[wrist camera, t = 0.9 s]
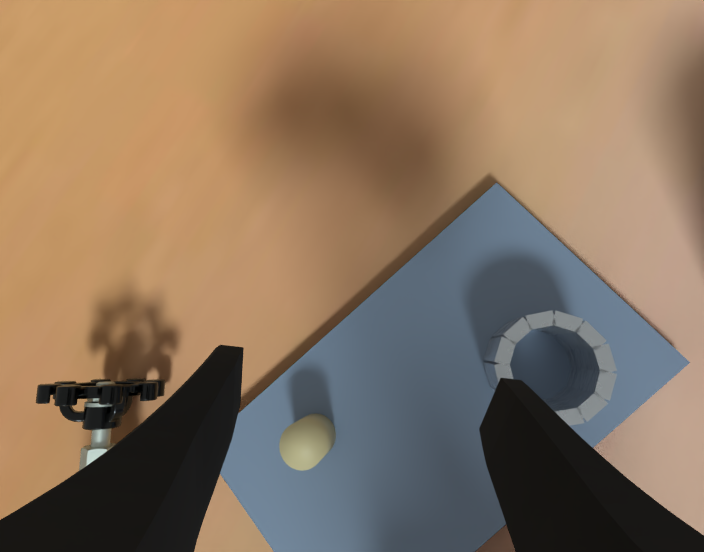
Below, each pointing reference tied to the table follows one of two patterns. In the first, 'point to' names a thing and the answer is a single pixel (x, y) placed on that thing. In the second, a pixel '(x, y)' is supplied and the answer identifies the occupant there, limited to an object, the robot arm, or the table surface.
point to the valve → (98, 406)
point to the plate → (427, 393)
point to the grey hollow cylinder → (584, 355)
